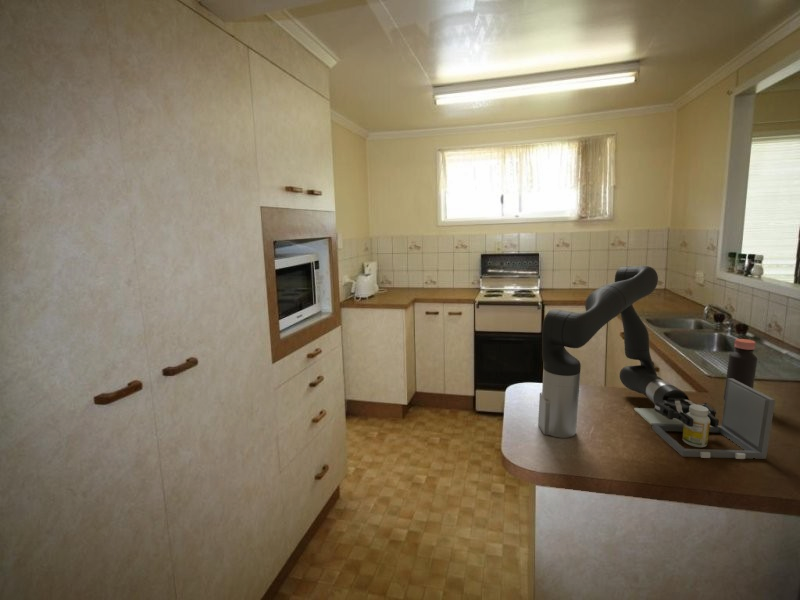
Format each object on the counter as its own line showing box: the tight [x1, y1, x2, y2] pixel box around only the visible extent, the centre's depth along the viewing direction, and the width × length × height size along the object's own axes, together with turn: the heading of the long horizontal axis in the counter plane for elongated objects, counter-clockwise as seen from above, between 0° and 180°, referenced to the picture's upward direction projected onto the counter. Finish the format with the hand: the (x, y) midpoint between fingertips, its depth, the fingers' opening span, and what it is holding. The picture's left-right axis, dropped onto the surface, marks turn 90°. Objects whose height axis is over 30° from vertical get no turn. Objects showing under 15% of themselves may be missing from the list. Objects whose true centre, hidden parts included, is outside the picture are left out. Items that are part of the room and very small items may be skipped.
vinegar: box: [723, 338, 758, 401], centre depth 131 cm, size 7×7×20 cm
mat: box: [633, 407, 684, 426], centre depth 122 cm, size 12×10×1 cm
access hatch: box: [651, 378, 776, 460], centre depth 107 cm, size 19×15×15 cm
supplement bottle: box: [681, 404, 710, 448], centre depth 107 cm, size 5×5×10 cm
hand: (704, 423), depth 105 cm, fingers closed on supplement bottle, 5 cm apart
